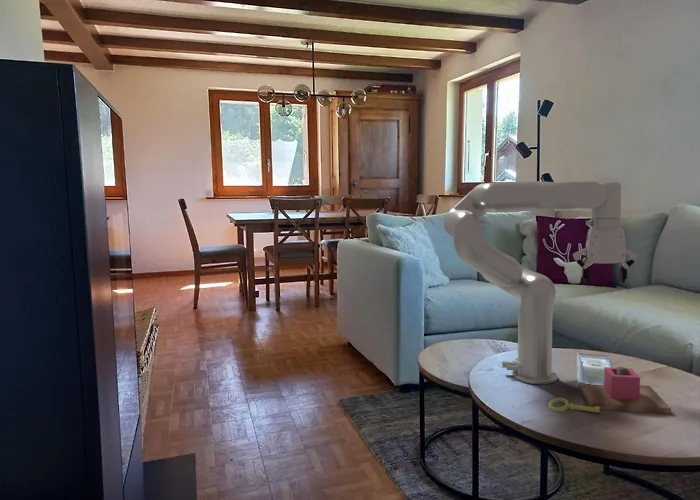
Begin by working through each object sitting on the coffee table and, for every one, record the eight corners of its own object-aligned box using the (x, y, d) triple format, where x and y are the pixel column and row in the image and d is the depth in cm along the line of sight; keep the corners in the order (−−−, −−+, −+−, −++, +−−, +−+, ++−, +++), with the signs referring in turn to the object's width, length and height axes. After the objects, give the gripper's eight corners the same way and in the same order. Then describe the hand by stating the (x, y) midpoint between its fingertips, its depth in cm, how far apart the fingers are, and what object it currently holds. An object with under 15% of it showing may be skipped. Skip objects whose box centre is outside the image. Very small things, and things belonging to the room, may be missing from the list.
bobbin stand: (590, 408, 121) (591, 376, 120) (578, 386, 135) (579, 358, 134) (670, 414, 117) (671, 380, 116) (649, 391, 131) (650, 361, 130)
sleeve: (611, 398, 123) (611, 376, 123) (603, 388, 130) (604, 367, 129) (639, 400, 122) (640, 377, 121) (630, 389, 128) (631, 368, 128)
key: (602, 417, 117) (602, 409, 117) (548, 412, 121) (548, 404, 121) (596, 405, 124) (596, 397, 124) (546, 401, 128) (546, 393, 128)
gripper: (576, 225, 138) (575, 283, 140) (643, 224, 133) (641, 284, 135) (571, 224, 145) (569, 279, 147) (634, 222, 141) (632, 279, 143)
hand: (604, 281), depth 141 cm, fingers open, 9 cm apart
